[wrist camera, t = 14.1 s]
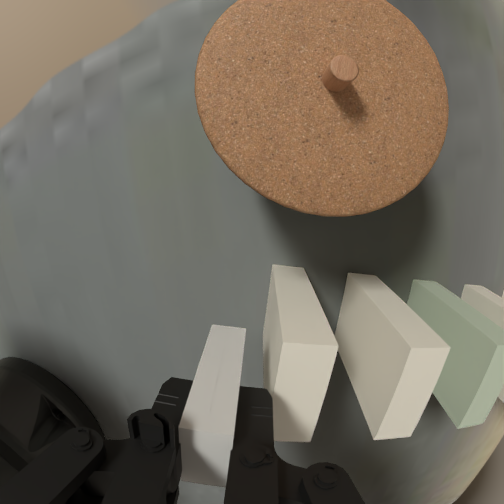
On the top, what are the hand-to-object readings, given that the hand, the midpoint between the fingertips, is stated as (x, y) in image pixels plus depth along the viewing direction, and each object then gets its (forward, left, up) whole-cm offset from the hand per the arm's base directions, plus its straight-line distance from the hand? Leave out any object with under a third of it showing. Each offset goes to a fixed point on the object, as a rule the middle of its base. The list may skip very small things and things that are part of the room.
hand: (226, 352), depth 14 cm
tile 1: (+3, 0, -7) cm, 8 cm away
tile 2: (+8, 0, -7) cm, 11 cm away
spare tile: (+13, 0, -7) cm, 15 cm away
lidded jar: (+3, +12, -7) cm, 14 cm away
